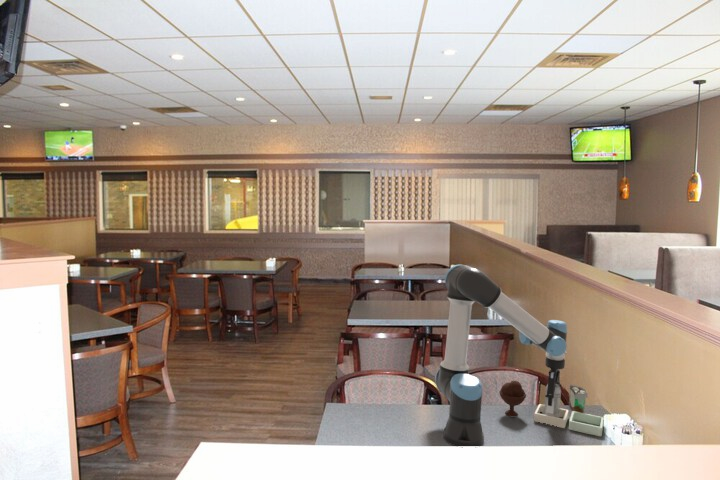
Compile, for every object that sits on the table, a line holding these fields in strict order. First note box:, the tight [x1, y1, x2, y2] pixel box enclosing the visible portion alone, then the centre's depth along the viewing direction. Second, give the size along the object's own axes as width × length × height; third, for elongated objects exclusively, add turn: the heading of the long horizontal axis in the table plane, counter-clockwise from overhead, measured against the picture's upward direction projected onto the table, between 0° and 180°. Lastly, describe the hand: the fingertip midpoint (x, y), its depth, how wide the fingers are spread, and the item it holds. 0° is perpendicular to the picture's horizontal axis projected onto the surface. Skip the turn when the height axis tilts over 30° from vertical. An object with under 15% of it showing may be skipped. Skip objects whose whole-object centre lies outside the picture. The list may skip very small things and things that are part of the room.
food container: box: [568, 384, 589, 413], centre depth 224 cm, size 12×6×10 cm, turn 168°
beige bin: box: [533, 403, 570, 429], centre depth 215 cm, size 12×12×4 cm
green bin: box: [568, 411, 605, 437], centre depth 209 cm, size 12×12×4 cm
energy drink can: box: [543, 383, 562, 418], centre depth 215 cm, size 6×6×15 cm
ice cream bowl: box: [499, 380, 527, 417], centre depth 219 cm, size 11×11×15 cm
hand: (552, 407), depth 215 cm, fingers open, 13 cm apart
